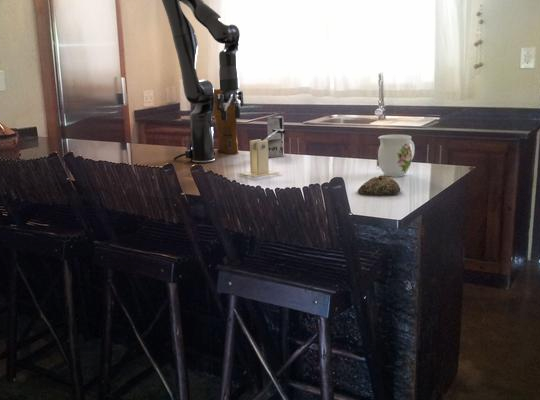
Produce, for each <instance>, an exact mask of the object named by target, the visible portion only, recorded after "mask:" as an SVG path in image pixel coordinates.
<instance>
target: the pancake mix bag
mask: <svg viewBox="0 0 540 400" xmlns="http://www.w3.org/2000/svg"><path fill="white" fill-rule="evenodd" d="M217 94H222V90H220V88H214V113H213V118H214V119H213V120H214V122H215V127H216V133H217V142H218V146H217V152H220V153H225V154H228V155H236V154H239V146H238V133H237V130H238V129H237V128H238V127H237V125H238V124H237V123H238V122H237V118H235V111H234V109H235V108H234V106H233V105H232V104H230V105H229V106H228V107H227V110H226V111H227V121H222V119H221V111H220V110H217ZM224 103H225V102H224ZM219 105H220V107H221V104H219ZM224 107H225V106H224Z"/></svg>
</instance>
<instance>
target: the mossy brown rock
mask: <svg viewBox="0 0 540 400" xmlns="http://www.w3.org/2000/svg"><path fill="white" fill-rule="evenodd" d="M401 189H402V188H401V187H400V184H399V183H398V182H397V181H396V180H395V179H393V178H392V177H390V176H386V175H378V177H376V176H373V177H371V178H370V179H369V180H367V181H365V182H364V183H363V184H362V185H360V187H359V188H358V190H357V193H358V194H360V195H368V196H396V195H399V193H401Z"/></svg>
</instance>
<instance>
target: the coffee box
mask: <svg viewBox="0 0 540 400" xmlns="http://www.w3.org/2000/svg"><path fill="white" fill-rule="evenodd" d="M266 120H267V121H266V122H267V125H266V126H267V137H268V136H270V135H271V134H272V133H274V132H273V131H272V129H274V128H276V129H283V130H284V115H273V116H268V117H267V118H266ZM284 134H285V133H284ZM284 134H282V133H278V134H277V135H276V136H274V137H273V138H272V139H270V140H269V141H268V158H283V157H284V154H285V135H284Z"/></svg>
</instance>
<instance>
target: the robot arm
mask: <svg viewBox="0 0 540 400" xmlns="http://www.w3.org/2000/svg"><path fill="white" fill-rule="evenodd" d="M161 2H162V5H163V8H164V11H165V13H166V16H167V20H168V23H169V26H170V32H171V35H172V40H173V45H174V48H175V51H176V55H177V59H178V62H179V63H178V64H179V68H180V73H181V80H182V86H183V92H184V96H185V98H186V100H187V102H189V103H190V104H192V105H195V108H194V110H193V111H192V112H191V113H190V114H189V123H190V126H189V127H190V138H189V140H188V141H189V149H187V150H185V151H184V153H180V154H178V155H176V156H175V157H173V160H174V161H176V160H178V159H180V158H181V157H185V159H189V161H190V162H192V163H195V164H205V163H206V164H207V163H212V162H215V161H216V158H215V156H216V152H215V139H214V119H213V118H214V114H213V113H214V89H215V88H214V85H213V83H212V82H211V81H210V80H209V79H199V76H198V73H197V65H196V64H197V58H198V53H199V42H198V39H197V33H196V31H195V28H194V26H193V25H192V23H191V22H190V20H189V18H188V17H187V16H186V15H185V13H184V12H183V8H182V7H181V3H183V4H184V5H185V6H187V7H188V8H189V9H190V11H191V12H192V15H193V17H194V18H195V20H196V21H197V22H198V23H199V24H200V25H202V26H203V27H204V29H206V30H207V31H208V33H209V34H210V36H211V37H212V38H213V40H215V41H216V42H217V43H218V44H223V45H224V47H223V49H222V50H221V51H219V52H218V64H219V65H218V66H219V69H218V79H219V89H220V90H222V94H217V110H220V111H221V119H222V121H227V111H226V110H227V107H228V106H229V105H230V104H232V105H233V106H234V108H235V109H234V111H235V118H236V119H240V118H241V109H242V107H244V104H245V103H244V93H243V91H242V90H239V89H240V74H239V73H240V72H239V67H238V66H239V65H238V63H239V62H238V52H239V48H240V43H241V42H240V41H241V32H240V29H239V27H238V26H237V25H236V24H229V23H228V24H226V23H223V22H222V17H221V15H220V14H219V13H218V12H217V11H215V9H213V8H211V6H210V5H208V4H207V3H206V2H205V1H204V0H161ZM224 102H225V103H224ZM219 104H221V107H220V105H219ZM224 106H225V107H224Z"/></svg>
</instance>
